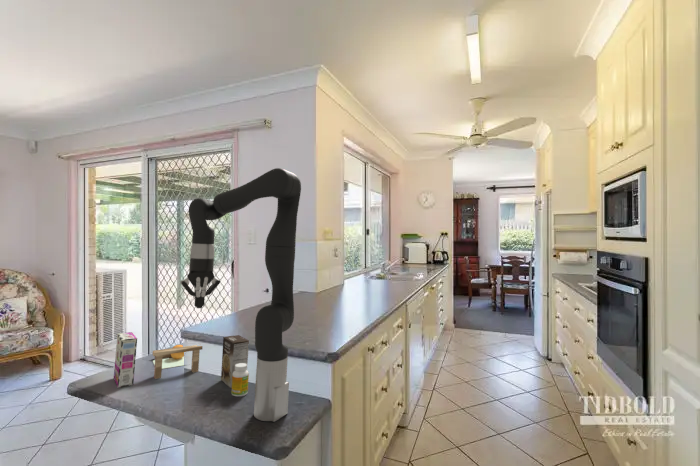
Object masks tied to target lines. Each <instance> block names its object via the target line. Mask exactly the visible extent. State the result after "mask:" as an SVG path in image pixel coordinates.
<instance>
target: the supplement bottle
mask: <svg viewBox="0 0 700 466" xmlns="http://www.w3.org/2000/svg"><path fill="white" fill-rule="evenodd" d="M246 369H247V370H246ZM249 376H250V373H249V371H248V363H247V364H246V363H238V364H236V365H235V371H234V372H233V375H232V388H231V391H230V393H231V396H234V397H244V396H246V395H247V394H248V391H249V380H250V379H249Z"/></svg>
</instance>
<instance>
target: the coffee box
mask: <svg viewBox="0 0 700 466" xmlns="http://www.w3.org/2000/svg"><path fill="white" fill-rule="evenodd" d="M249 341H250V339H249V340H248V339H247V338H245V337H243V336H241V335H239V334H238V335H227V336H223V339H222V355H221V357H222V358H221V370H220V371H221V373H220V380H221V381H222V383H224V384H225V385H226V386H227V387H228V388H230V389H232V375H233V372H234V371H235V365H236V364H238V363H246V364H247V365H248V361H249V359H248V358H249V348H248V344H249V345H250V342H249ZM246 370H248V368H247V369H246Z"/></svg>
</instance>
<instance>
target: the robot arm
mask: <svg viewBox="0 0 700 466" xmlns="http://www.w3.org/2000/svg"><path fill="white" fill-rule="evenodd" d="M301 191H302V183H301V179H300V178H299V177H298V175H296V174H295V173H293V172H291V171H289V170H286V169H285V168H280V167H276V168H272V169H270V170H269V171H267V172H265V173H263V174H262V175H260V176H258V177H256V178H254V179H252V180H250V181H249V182H247V183H245V184H242V185H240V186H238V187H235V188H233V189H230V190H227V191H224V192H221V193H218V194H216V195H215V196H214V198H213V200H212V199H211V200H210V199H206V198H201V197H200V198H199V197H197V198H194V199H193V200H192V201H191V202H190V204H189V206H188V216H189V223H190V226H191V229H192V230H191V231H192V238H191V248H190V252H189V253H190V254H189V269H188V270H189V272H188V274H187V276H186V277H185V278H184V279H183V280H180V281H179V282H180V284H181V286H182V288H184V289H185V291H186V292H187V293H188V295H190V296H191V297H194V307H195V308H196V309H203V307H205V301H206V300H205V299H206V298H205V297H207V296H210V295H211V294H212V293H213V292H214V291H215V290H216V288H217V287H218V286H219V285H220V283H221V281H220V280H218V279H217V278H216V277H215V274H214V265H215V264H214V262H215V236H216V235H215V228H213V227H210V226H209V225H208V223H207V222H208V221H216V220H219V219H221V218H222V217H224V216H225V215H227V214H230V213H234V212H237V211H240V210H242V209H245V207H247V206H249V205H250V204H251V203H252V202H254V201H256V200H259V199H263V198H276V199H277V208H276V210H277V212H276V216H275V220H274V221H273V224H272V226H271V228H270V230H269V232H268V234H267V236H266V239H265V240H266V241H265V253H264V262H265V263H264V264H265V267H266V270H267V274H268V277H269V278H270V279H269V280H270V281H271V288H272V289H271V290H272V291H271V302H270V304H269V305H265V306H263V307H261V308H260V309H259V310H258V311H257V314H256V316H255V323H254V325H255V326H254V347H255V350H256V369H255V371H256V373H255V387H254V407H253V416H254V418H255V419H256V420H259V421H262V422H274V423H275V422H277V421H278V420H280V419H281V418H283V417H285V416H286V415H287V414H288V412H289V411H288V408H289V393H290V392H289V389H290V387H289V386H290V382H289V381H287V380H288V379H287V377H288V359H289V358H288V357H289V356H288V355H289V349H288V346H287V345H285V344H283V333H284V332H286V331H288V330H289V329H290V328H291V326H292V325H293V323H294V320H295V307H294V306H295V305H294V304H295V303H294V278H295V277H294V276H295V275H294V274H295V259H296V237H297V236H296V235H297V224H298V223H297V222H298V221H297V220H298V211H299V206H300V200H301ZM210 283H211V285H210ZM189 284H191V285H192V286H193V289H192V288H191V287H190V286H189ZM209 285H210V286H209ZM208 286H209V287H208ZM193 290H194V291H193Z"/></svg>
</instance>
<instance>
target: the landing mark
mask: <svg viewBox="0 0 700 466" xmlns="http://www.w3.org/2000/svg"><path fill="white" fill-rule="evenodd" d="M184 357H185V355H184V356H183V357H182V358H180V359H174V358H165V359H162V370H165V369H171V368H178V367H184ZM152 363H153V366H154V367H155V359H154V360H152Z"/></svg>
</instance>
